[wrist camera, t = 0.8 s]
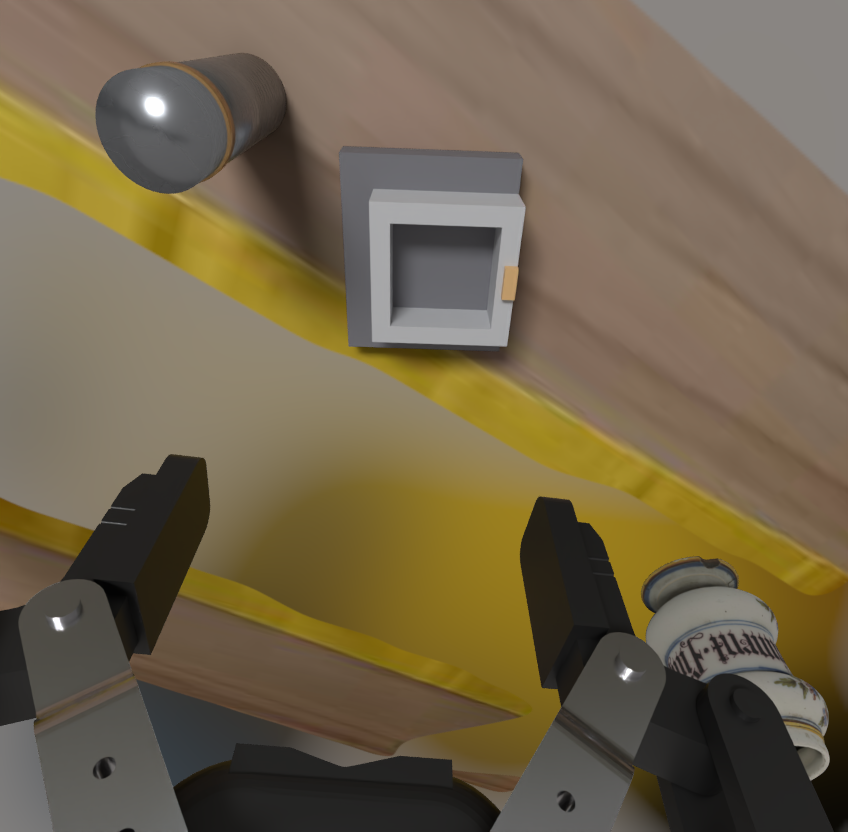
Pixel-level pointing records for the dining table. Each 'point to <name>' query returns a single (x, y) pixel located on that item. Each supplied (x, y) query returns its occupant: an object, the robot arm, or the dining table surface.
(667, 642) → the apothecary jar
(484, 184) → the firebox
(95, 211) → the dining table surface
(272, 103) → the metal canister
